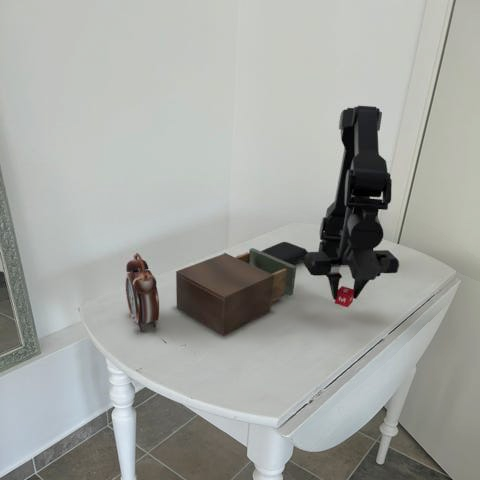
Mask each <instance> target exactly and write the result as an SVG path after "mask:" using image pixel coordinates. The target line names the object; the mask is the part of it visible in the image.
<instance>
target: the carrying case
mask: <svg viewBox="0 0 480 480" xmlns="http://www.w3.org/2000/svg"><path fill="white" fill-rule="evenodd" d="M260 251H261V252H264V253H266V254H268V255H271V256H273V257H275V258H278V259H280V260H282V261H285V262H287V263H289V264H292V265H294V266H295V265H297V264H298V263H301V262H303V261H304V257H305V255H306V254H307V253H308V252H309V251H308V250H307V249H306V248H304V247H302V246H300V245H299V246H298V245H296V244H293V243H290V242H288V241H281V242H279V243H276V244H274V245H272V246H270V247H269V246H268V247H267V248H265V249H263V250H260Z"/></svg>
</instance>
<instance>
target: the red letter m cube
mask: <svg viewBox="0 0 480 480" xmlns="http://www.w3.org/2000/svg"><path fill="white" fill-rule="evenodd" d="M354 293H355V290H354V289H353V288H350V287H348V286H344V285H341V286H340V287H338V295H337V298H336V300H334V304H335V305H337V306H341V307H344V308H347V309H348V308H349V307H350V306H351V304H352V303H353V302H354Z"/></svg>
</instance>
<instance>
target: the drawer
mask: <svg viewBox="0 0 480 480" xmlns="http://www.w3.org/2000/svg"><path fill="white" fill-rule="evenodd" d="M261 251H262V250H259V249H256V248H253V247H252V248H251V247H250V248H249V252H245V253H242V254H239V255H237V256H234V257H235V258H237V259H239V260H242V261H244V262H246V263H248V264H250V265H253V266H255V267H257V268H259V269H261V270H264V271H266V272H268V273H270V274H272V275H274V278H273V288H272V298H271V303H273V302H275V301H277V300H279V299H281V298H282V297H285V295H286V296H288V297H291V296H293V295H294V288H295V282H296V273H297V266H296V265H295V264H294V265H292V264H289V263H287V262H285V261H282V260H280V259H278V258H275V257H273V256H271V255H268V254H266V253H264V252H261Z"/></svg>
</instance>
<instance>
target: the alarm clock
mask: <svg viewBox="0 0 480 480" xmlns="http://www.w3.org/2000/svg"><path fill="white" fill-rule="evenodd" d="M125 271H126V276H125V281H124V283H125V295H126V302H127V306H128V310H129V314H130V317H131V320H132V321H133V322H134V323H135V324H136V325H138V328H139V332H142V331H143V329H142V324H150V323H152V326H153V327H154V328H156V322H157V321H158V320H159V318H160V297H159V291H158V287H157V280H156V278H155V276H154V275H153V273H152V272H151V270H150V269H149V265H148V263H147V261H146V260H144V259H143V258H142V257H141V255H140V254H139V253H137V252H136V253H135V255H133V259H131V260H129V261H128V262H127V263H126V266H125Z"/></svg>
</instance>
